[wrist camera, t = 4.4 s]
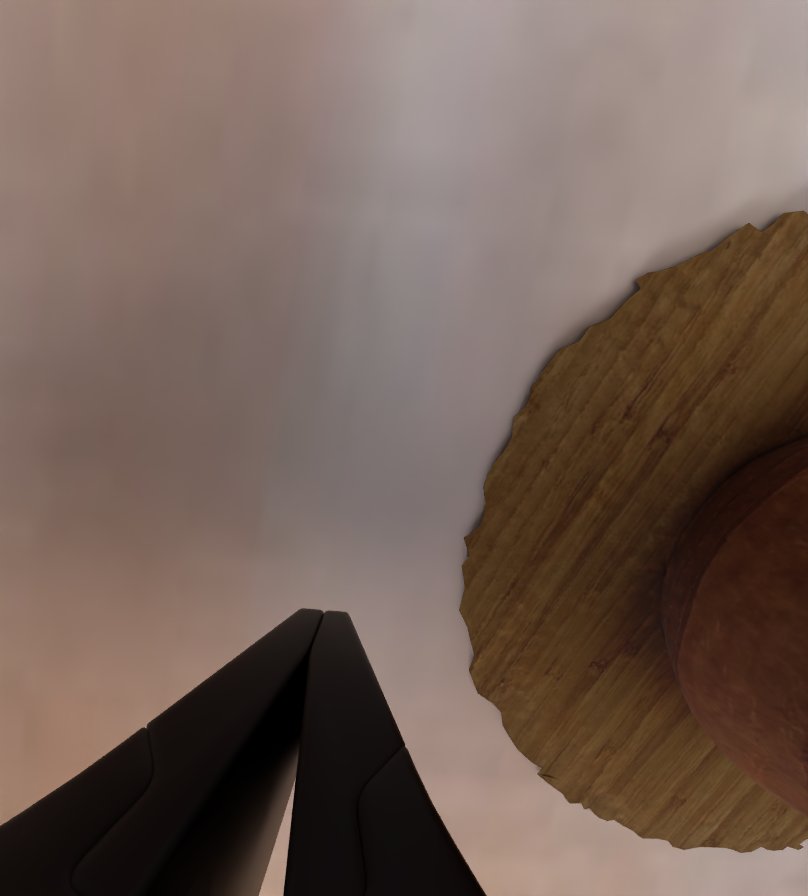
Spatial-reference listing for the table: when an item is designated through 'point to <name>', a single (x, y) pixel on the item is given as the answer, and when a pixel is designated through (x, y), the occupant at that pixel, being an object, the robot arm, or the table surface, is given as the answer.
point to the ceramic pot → (662, 556)
